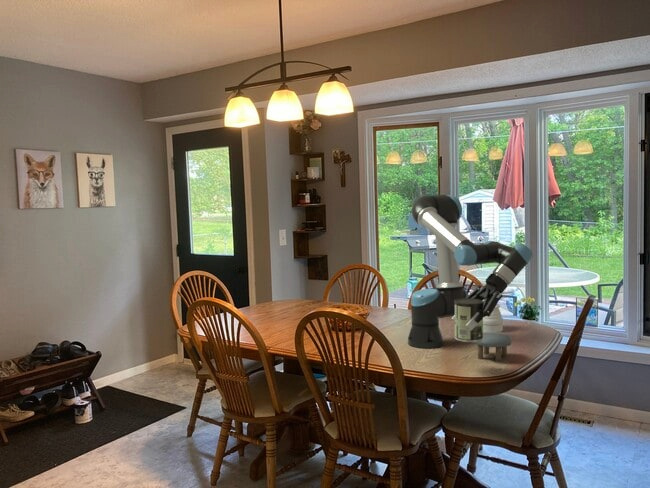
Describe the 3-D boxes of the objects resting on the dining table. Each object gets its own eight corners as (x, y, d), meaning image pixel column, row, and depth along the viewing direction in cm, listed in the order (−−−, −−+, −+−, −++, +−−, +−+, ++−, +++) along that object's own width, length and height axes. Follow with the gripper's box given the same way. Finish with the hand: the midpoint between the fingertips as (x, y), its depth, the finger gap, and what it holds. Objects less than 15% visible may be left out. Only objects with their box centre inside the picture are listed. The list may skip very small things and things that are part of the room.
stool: (468, 359, 207) (468, 339, 207) (481, 350, 219) (481, 331, 218) (504, 364, 199) (504, 343, 198) (515, 355, 210) (515, 335, 210)
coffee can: (481, 335, 199) (482, 298, 198) (484, 343, 189) (484, 304, 188) (453, 334, 201) (453, 297, 200) (454, 342, 191) (454, 303, 190)
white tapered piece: (491, 334, 244) (491, 295, 243) (469, 329, 254) (469, 292, 253) (508, 329, 252) (508, 292, 250) (486, 324, 262) (485, 288, 260)
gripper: (524, 291, 186) (484, 339, 184) (489, 281, 208) (453, 323, 205) (511, 277, 184) (470, 325, 182) (477, 268, 206) (440, 311, 204)
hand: (461, 324), depth 194 cm, fingers closed on coffee can, 10 cm apart
